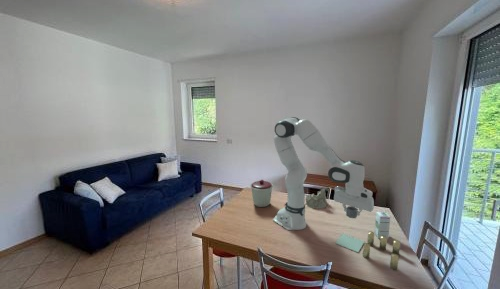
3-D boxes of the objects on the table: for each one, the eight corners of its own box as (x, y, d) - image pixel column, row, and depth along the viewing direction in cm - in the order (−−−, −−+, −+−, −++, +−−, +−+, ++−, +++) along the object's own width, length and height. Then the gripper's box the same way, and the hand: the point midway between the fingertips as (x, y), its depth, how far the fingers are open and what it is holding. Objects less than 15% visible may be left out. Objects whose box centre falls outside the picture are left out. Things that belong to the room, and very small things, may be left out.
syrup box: (388, 239, 123) (391, 216, 121) (377, 238, 124) (380, 216, 122) (384, 233, 129) (386, 211, 126) (374, 232, 130) (376, 211, 127)
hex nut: (354, 219, 114) (355, 211, 113) (345, 216, 117) (345, 208, 117) (357, 215, 118) (358, 208, 117) (348, 212, 122) (349, 205, 121)
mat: (335, 243, 120) (335, 242, 120) (342, 234, 129) (342, 233, 129) (358, 253, 112) (358, 252, 112) (364, 242, 121) (364, 241, 121)
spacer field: (360, 256, 110) (361, 244, 109) (368, 241, 121) (369, 230, 120) (396, 271, 99) (398, 258, 98) (401, 254, 111) (403, 242, 109)
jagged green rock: (329, 202, 171) (329, 185, 169) (322, 211, 159) (321, 192, 156) (311, 199, 181) (310, 182, 178) (303, 207, 168) (302, 189, 166)
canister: (269, 211, 159) (269, 184, 156) (247, 207, 166) (246, 182, 162) (275, 201, 176) (275, 177, 172) (255, 198, 183) (254, 175, 179)
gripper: (332, 186, 120) (331, 209, 122) (373, 196, 106) (370, 221, 109) (336, 183, 124) (335, 205, 127) (376, 193, 111) (373, 217, 113)
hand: (351, 213), depth 117 cm, fingers closed on hex nut, 5 cm apart
